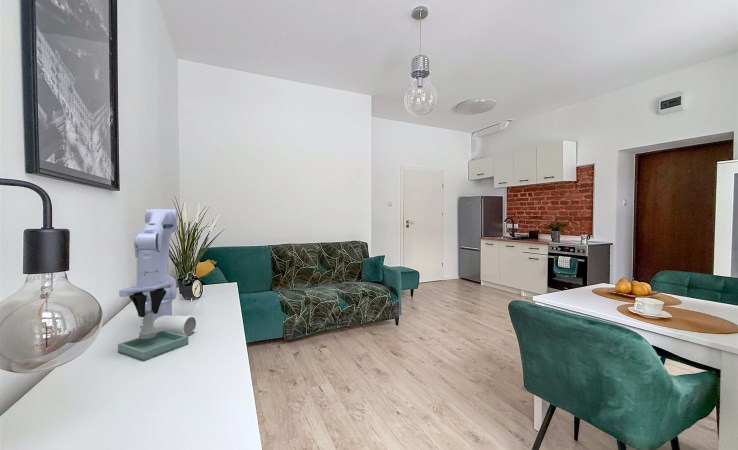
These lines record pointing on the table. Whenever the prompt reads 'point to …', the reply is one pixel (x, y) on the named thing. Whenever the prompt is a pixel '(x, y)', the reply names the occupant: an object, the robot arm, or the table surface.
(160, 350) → the tray
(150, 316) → the rook chess piece
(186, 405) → the table surface
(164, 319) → the can
